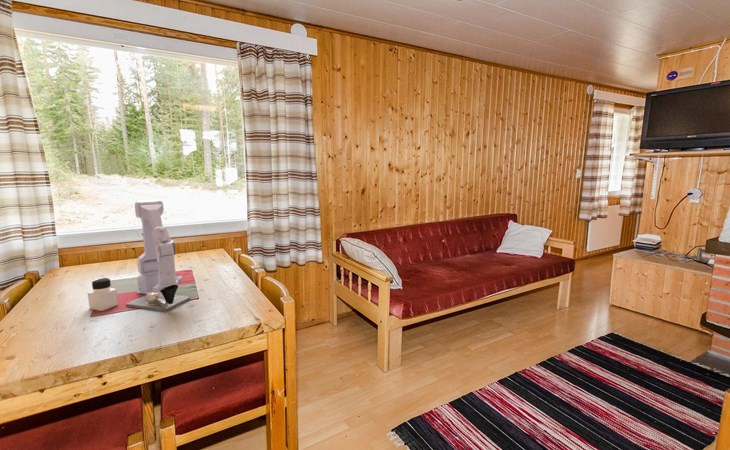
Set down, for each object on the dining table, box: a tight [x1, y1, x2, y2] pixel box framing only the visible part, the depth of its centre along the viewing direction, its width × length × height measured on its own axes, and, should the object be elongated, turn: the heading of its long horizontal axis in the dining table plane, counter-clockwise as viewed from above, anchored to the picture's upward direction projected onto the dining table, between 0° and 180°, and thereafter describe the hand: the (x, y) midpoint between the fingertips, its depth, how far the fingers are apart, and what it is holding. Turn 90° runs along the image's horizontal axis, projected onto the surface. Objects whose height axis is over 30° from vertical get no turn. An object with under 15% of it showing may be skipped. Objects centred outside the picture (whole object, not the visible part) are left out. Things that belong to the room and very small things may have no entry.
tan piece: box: [146, 291, 168, 308], centre depth 148 cm, size 14×6×4 cm, turn 50°
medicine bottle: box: [87, 277, 119, 312], centre depth 147 cm, size 7×7×12 cm
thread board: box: [125, 294, 191, 313], centre depth 153 cm, size 20×14×1 cm
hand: (169, 303), depth 146 cm, fingers closed
